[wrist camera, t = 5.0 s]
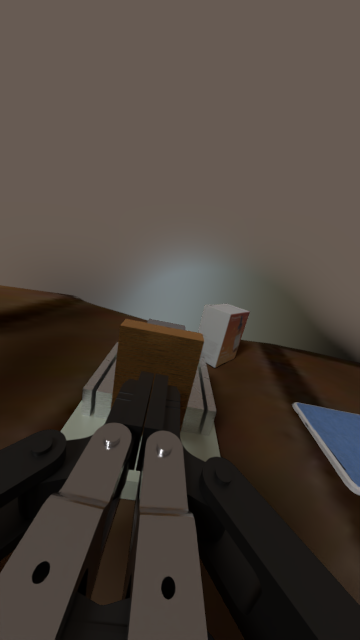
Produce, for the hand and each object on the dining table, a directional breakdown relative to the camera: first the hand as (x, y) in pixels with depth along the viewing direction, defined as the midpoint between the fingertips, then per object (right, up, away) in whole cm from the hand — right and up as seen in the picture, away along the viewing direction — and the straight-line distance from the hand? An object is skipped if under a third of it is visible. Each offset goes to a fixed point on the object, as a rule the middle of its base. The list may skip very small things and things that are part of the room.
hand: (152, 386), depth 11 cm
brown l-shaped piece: (-1, -3, +10) cm, 10 cm away
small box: (+8, -4, +30) cm, 31 cm away
